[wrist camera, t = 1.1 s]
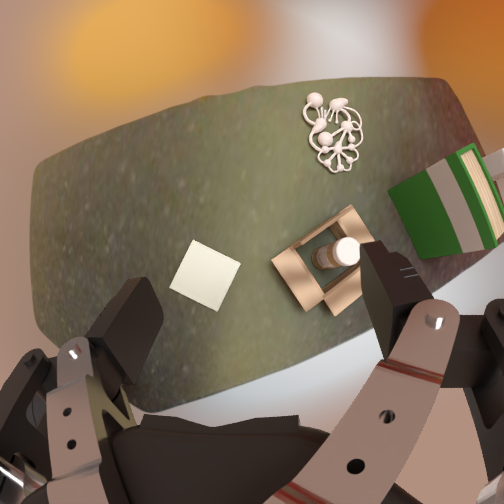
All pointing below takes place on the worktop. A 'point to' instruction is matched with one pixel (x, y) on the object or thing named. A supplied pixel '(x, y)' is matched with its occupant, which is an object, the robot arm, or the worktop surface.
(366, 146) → the worktop surface
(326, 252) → the sprinkles bottle
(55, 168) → the worktop surface
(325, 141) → the tangled rod sculpture
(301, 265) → the carton
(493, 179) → the skincare box
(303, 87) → the worktop surface
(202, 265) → the coaster
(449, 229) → the hardback book
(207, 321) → the worktop surface
